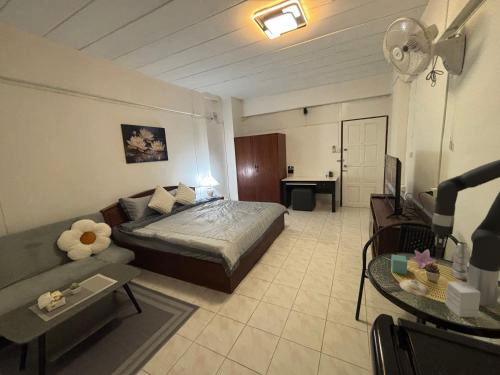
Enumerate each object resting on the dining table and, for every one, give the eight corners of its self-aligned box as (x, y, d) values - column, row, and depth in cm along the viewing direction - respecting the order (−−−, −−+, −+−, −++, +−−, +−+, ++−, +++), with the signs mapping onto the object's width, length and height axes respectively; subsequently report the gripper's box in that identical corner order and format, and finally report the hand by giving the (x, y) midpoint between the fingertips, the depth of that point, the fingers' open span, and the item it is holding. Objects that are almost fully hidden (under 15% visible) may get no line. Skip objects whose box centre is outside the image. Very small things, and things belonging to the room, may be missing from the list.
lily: (405, 266, 127) (411, 258, 121) (410, 252, 134) (415, 244, 127) (429, 278, 121) (437, 270, 115) (433, 263, 127) (440, 254, 121)
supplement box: (462, 306, 94) (465, 281, 92) (478, 319, 87) (481, 292, 84) (444, 306, 95) (446, 281, 92) (458, 319, 87) (461, 292, 85)
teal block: (390, 267, 126) (391, 254, 124) (404, 269, 123) (405, 256, 121) (392, 273, 120) (393, 259, 118) (406, 275, 117) (407, 262, 115)
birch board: (428, 286, 108) (428, 284, 107) (429, 300, 98) (430, 298, 98) (399, 279, 115) (400, 277, 115) (398, 291, 106) (398, 289, 105)
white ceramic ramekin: (418, 286, 107) (418, 281, 106) (418, 290, 104) (418, 284, 103) (409, 284, 109) (409, 278, 108) (409, 288, 106) (409, 282, 106)
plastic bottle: (449, 278, 112) (453, 244, 108) (450, 273, 117) (454, 239, 113) (467, 283, 107) (471, 247, 104) (467, 277, 112) (471, 242, 108)
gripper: (453, 229, 92) (448, 262, 95) (453, 220, 102) (449, 251, 105) (431, 225, 97) (427, 257, 100) (433, 217, 107) (429, 247, 110)
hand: (438, 254), depth 102 cm, fingers open, 8 cm apart
